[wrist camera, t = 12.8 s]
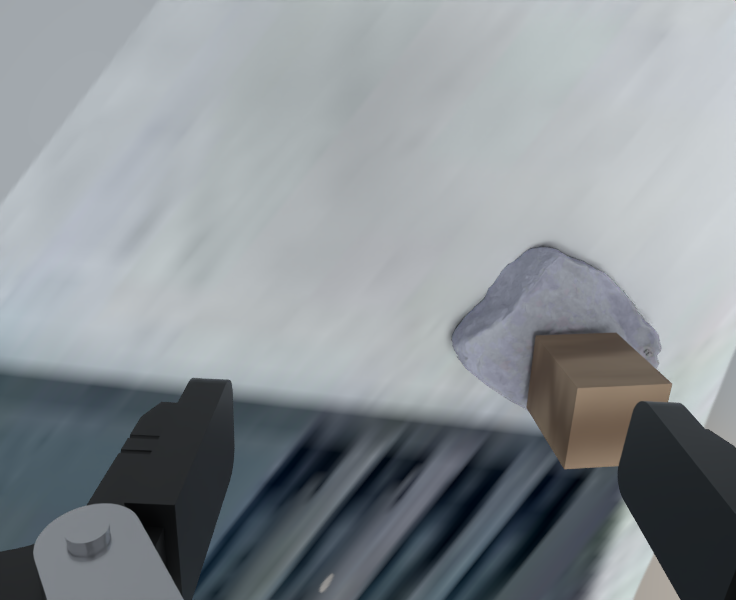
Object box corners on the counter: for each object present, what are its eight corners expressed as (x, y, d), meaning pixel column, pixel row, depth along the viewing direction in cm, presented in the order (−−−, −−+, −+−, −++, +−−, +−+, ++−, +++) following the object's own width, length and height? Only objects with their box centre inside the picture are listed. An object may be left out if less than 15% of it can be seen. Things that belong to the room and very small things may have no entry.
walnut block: (535, 335, 36) (577, 388, 30) (616, 332, 36) (672, 383, 31) (526, 407, 38) (564, 469, 32) (603, 403, 38) (653, 463, 33)
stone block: (525, 221, 39) (434, 343, 41) (559, 232, 35) (455, 369, 36) (648, 318, 43) (560, 429, 44) (694, 340, 38) (594, 462, 39)
